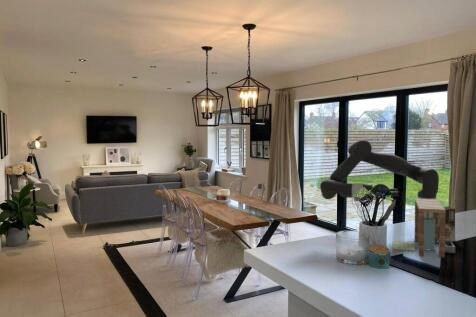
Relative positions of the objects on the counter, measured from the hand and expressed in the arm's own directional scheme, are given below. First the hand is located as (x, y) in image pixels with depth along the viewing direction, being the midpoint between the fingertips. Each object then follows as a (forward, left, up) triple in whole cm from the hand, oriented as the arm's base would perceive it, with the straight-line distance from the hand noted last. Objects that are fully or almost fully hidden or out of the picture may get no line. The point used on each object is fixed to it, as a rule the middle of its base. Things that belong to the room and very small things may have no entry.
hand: (398, 192), depth 170 cm
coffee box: (-17, +21, -26) cm, 37 cm away
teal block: (0, +13, -26) cm, 29 cm away
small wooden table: (0, +13, -26) cm, 29 cm away
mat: (0, +3, -26) cm, 26 cm away
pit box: (0, +21, -26) cm, 33 cm away
